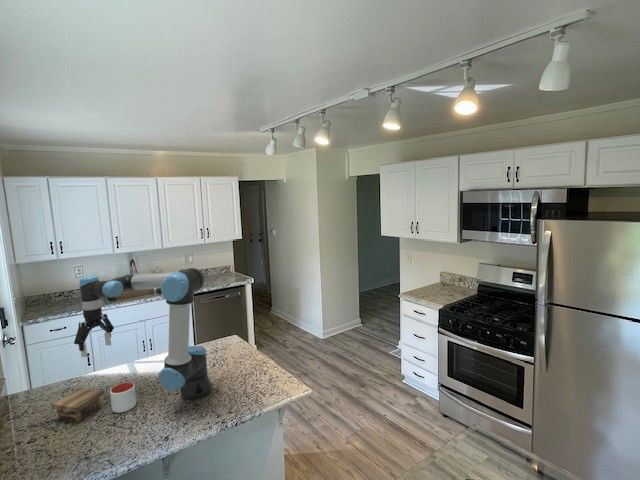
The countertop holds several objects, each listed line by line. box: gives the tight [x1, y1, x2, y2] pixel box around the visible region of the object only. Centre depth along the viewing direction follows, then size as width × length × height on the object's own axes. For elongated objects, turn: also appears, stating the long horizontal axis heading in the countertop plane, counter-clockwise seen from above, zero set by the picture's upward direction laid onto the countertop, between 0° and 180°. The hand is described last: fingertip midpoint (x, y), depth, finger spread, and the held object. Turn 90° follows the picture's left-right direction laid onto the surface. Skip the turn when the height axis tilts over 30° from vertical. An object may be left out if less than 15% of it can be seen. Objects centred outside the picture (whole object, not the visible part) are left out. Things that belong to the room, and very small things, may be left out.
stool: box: [51, 387, 105, 424], centre depth 161 cm, size 14×14×8 cm
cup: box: [109, 381, 137, 414], centre depth 164 cm, size 10×10×10 cm
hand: (96, 350), depth 171 cm, fingers open, 13 cm apart
